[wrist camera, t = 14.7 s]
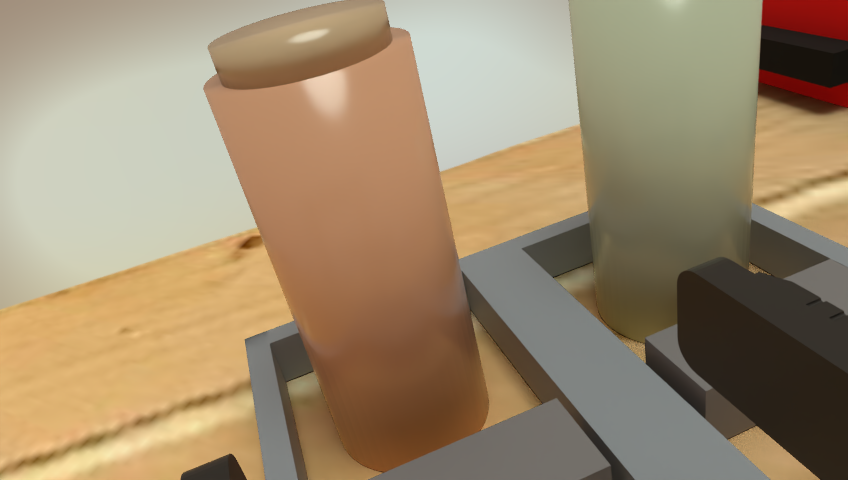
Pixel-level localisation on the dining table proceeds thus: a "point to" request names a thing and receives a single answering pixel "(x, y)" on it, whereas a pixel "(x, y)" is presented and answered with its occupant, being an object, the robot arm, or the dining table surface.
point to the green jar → (664, 145)
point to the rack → (581, 355)
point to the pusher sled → (514, 452)
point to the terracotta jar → (354, 222)
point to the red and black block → (806, 48)
